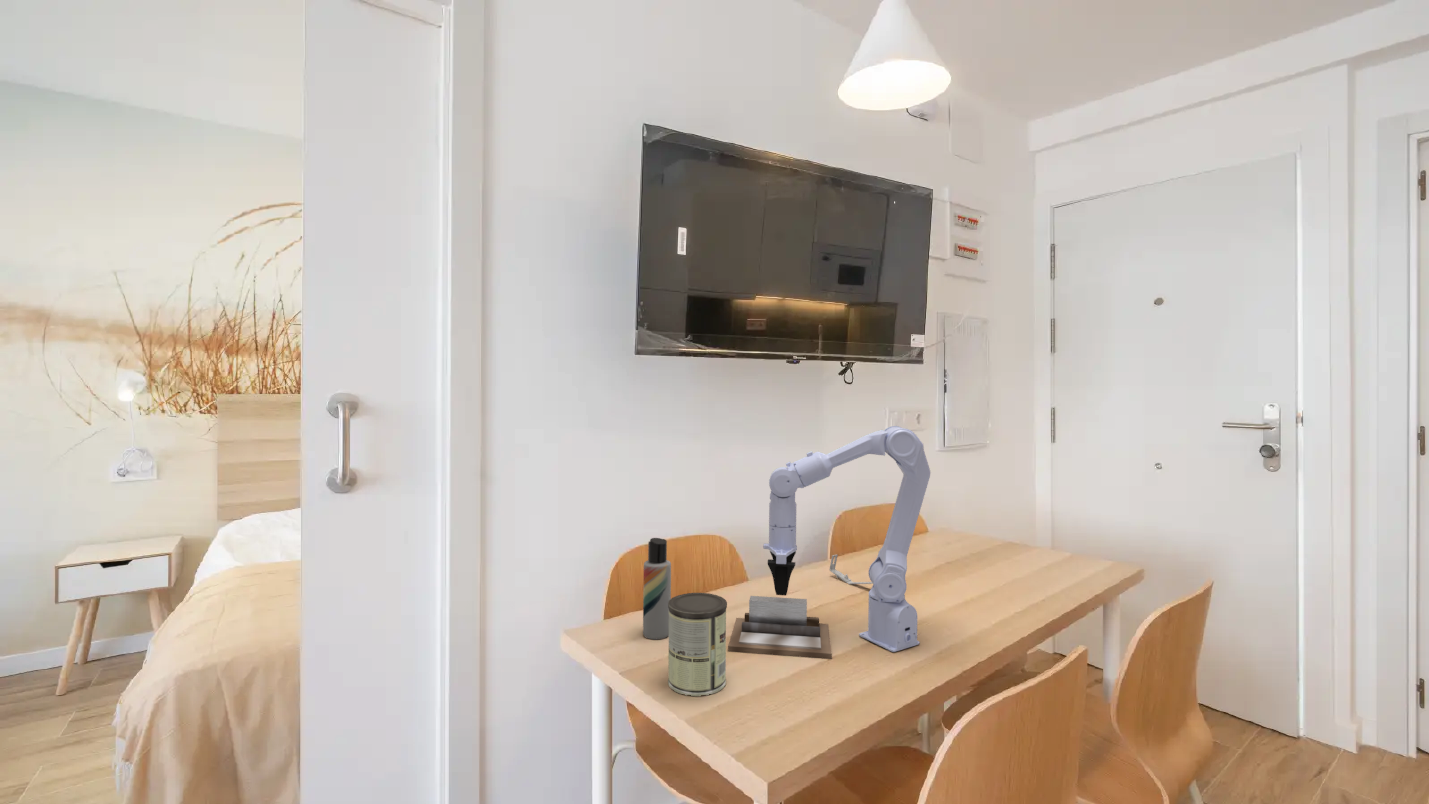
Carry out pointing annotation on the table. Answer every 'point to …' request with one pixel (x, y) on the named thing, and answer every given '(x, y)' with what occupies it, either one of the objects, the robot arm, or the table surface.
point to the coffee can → (697, 643)
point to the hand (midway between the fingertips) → (781, 588)
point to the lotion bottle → (656, 590)
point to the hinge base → (781, 638)
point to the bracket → (842, 576)
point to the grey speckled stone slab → (778, 610)
